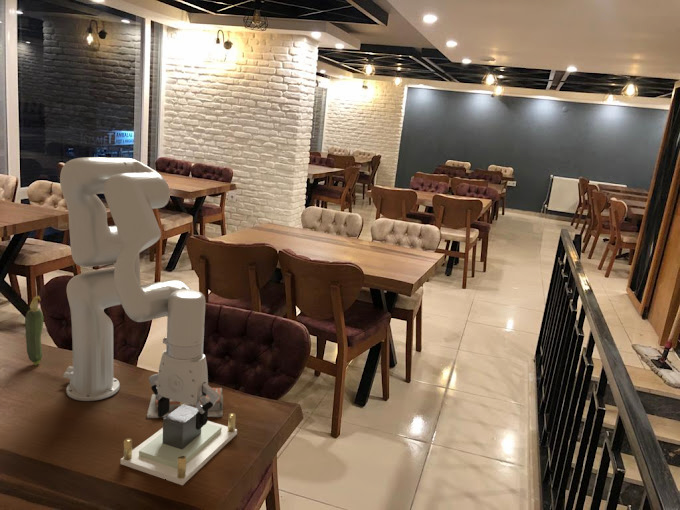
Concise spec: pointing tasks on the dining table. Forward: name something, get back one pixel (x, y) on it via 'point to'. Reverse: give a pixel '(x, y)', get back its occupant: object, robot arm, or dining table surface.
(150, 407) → the packaged product
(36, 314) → the vegetable
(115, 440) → the dining table surface
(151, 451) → the board
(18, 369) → the dining table surface
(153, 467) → the chassis
